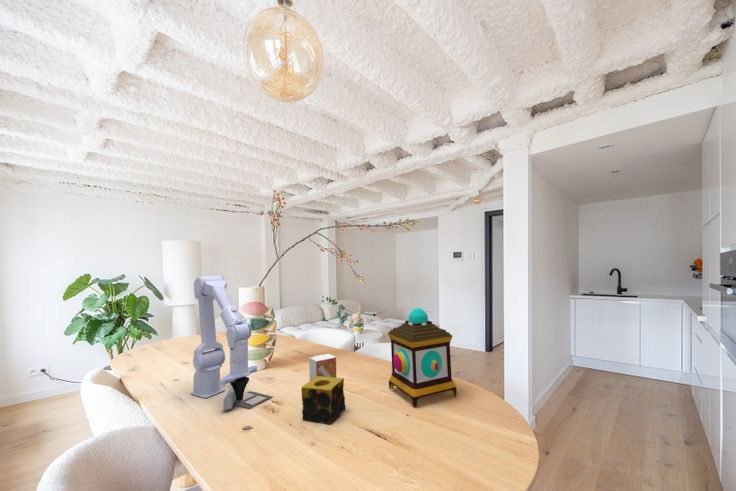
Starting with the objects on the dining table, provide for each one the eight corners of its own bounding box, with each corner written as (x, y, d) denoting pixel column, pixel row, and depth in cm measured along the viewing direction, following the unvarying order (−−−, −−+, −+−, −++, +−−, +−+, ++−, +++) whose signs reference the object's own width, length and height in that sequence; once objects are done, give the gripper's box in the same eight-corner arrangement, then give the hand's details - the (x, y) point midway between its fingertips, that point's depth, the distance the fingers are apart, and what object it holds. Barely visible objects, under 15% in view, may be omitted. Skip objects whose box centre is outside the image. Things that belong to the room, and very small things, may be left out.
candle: (346, 409, 98) (345, 377, 99) (332, 425, 88) (331, 390, 89) (317, 406, 101) (317, 375, 102) (301, 421, 92) (300, 386, 92)
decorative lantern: (412, 411, 95) (408, 313, 97) (383, 389, 113) (380, 307, 115) (463, 398, 103) (458, 308, 105) (428, 379, 121) (425, 302, 123)
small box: (316, 399, 106) (315, 361, 107) (309, 393, 111) (308, 357, 112) (337, 393, 111) (336, 356, 112) (329, 388, 116) (328, 353, 117)
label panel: (226, 402, 106) (226, 400, 106) (250, 391, 115) (250, 390, 115) (249, 409, 100) (249, 407, 100) (272, 397, 109) (272, 396, 109)
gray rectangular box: (230, 395, 110) (230, 385, 111) (237, 394, 111) (237, 385, 111) (223, 409, 99) (223, 399, 99) (231, 408, 99) (231, 398, 99)
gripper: (229, 367, 97) (230, 411, 96) (263, 354, 110) (263, 393, 109) (214, 364, 100) (214, 408, 99) (248, 352, 113) (249, 390, 112)
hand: (239, 400), depth 104 cm, fingers closed
